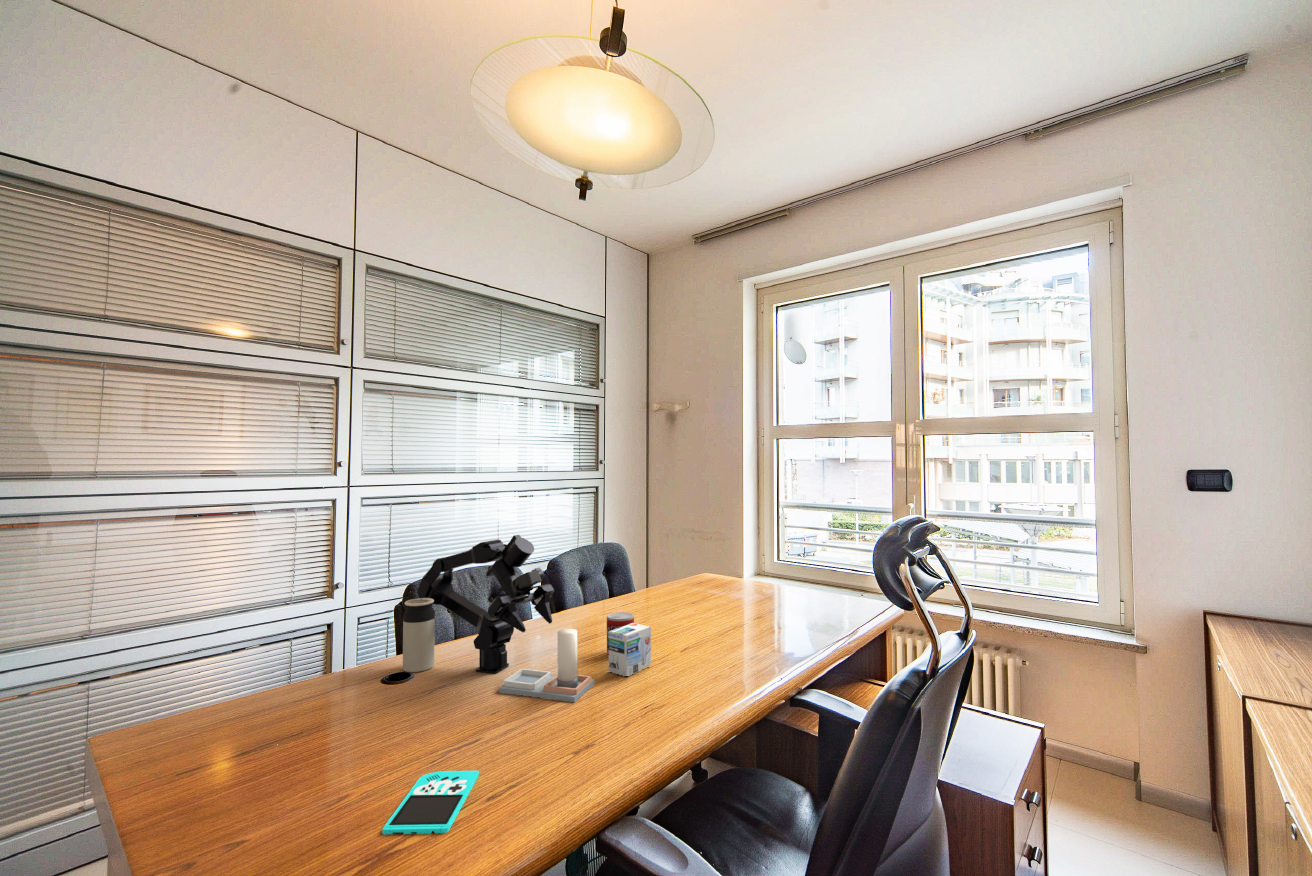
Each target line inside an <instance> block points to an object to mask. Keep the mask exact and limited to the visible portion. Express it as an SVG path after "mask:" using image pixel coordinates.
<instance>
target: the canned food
mask: <svg viewBox="0 0 1312 876" xmlns="http://www.w3.org/2000/svg"><path fill="white" fill-rule="evenodd" d="M631 623H635V616H634V613H631V612H627V611H626V612H624V611H623V612H622V611H617V612H611V613H609V614H607V615H606V653H607V655H608V654H609V631H612V630H614V629H617V628H620V627H623V626H626V625H629V624H631Z"/></svg>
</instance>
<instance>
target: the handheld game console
mask: <svg viewBox="0 0 1312 876" xmlns="http://www.w3.org/2000/svg"><path fill="white" fill-rule="evenodd" d="M479 776H480V771H479V770H441V771H434V772H430V773H426V774H423V775H421V776H420V777H419V778H418V779H417V781H416V782H415V784H414V785H413V786H412V788H411V789H410V790H409V791H408V793H407V794H406V796H405V797H404V798H403V800H402V801H401V803H400V804H399V805H398V807H397V808H396V810H395V811H394V812H393V814H392V815H391V816H390V817H389V819H388V820H387V821H386V823H385V825H384V826H383V827H382V831H381V833H382V835H393V834H394V833H395V835H413V834H414V835H419V834H422V835H423V834H424V833H425V834H426V833H427V834H433V832H434V834H446V833H448V832H449V831H450V829H451V827H452V826H453V823H454V822H455V820H456V818H457V817H458V815H459V812H460V811H461V810H462V807H463V805H464V803H465V802H466V800H467V798H468V797H469V794H470V792H471V791H472V789H473V787H474V785H475V783H476V782H477V779H478V778H479Z"/></svg>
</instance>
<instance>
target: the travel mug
mask: <svg viewBox="0 0 1312 876" xmlns="http://www.w3.org/2000/svg"><path fill="white" fill-rule="evenodd" d="M433 602H434V599H431V598H419V597H418V598H412V599H408V600H405V602H404V603H403V604H404V605H405V610H404V613H403V617H402V620H403V621H402V624H403V625H402V671H405V672H406V673H421V672H425V671H427V670H430V669H431V668H433V667H434V666H435V639H436V638H435V637H436V635H435V634H436V632H435V631H436V630H435V625H436V624H435V623H436V614H435V613H436V610H435V609H434V608H433V605H434V604H433Z"/></svg>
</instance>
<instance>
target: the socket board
mask: <svg viewBox="0 0 1312 876" xmlns="http://www.w3.org/2000/svg"><path fill="white" fill-rule="evenodd" d="M557 677H558V674H557V675H556V674H552V671H547V670H539V669H529V668H520V669H519V670H517V671H516V672H514V673H512V674H511V675H510V676H508V677H506V678H505V679H503V681H502V682H503V685H501V686H500V687H499V689H498V690H499V691H498V692H499V694H506V695H507V694H508V695H514V694H515V695H514V696H521V695H523V696H522V697H529V696H531V698H537V697H540V698H539V699H545V700H552V699H553V701H561V702H569V703H576V702H577V701H578V700H579V699H580V698H581V697H582V696H583V695H585V693H587V692H588V691H589V690H590V689H591V688H592V687H593V686H594V685H595V679H592V676H590V675H585V674H584V675H582V674H578V686H577V687H576V688H566V687H558V686H557ZM593 684H594V685H593ZM592 685H593V686H592ZM591 686H592V687H591ZM590 687H591V688H590ZM589 688H590V689H589ZM588 689H589V690H588ZM587 690H588V691H587ZM586 691H587V692H586ZM582 694H583V695H582ZM579 697H580V698H579Z"/></svg>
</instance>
